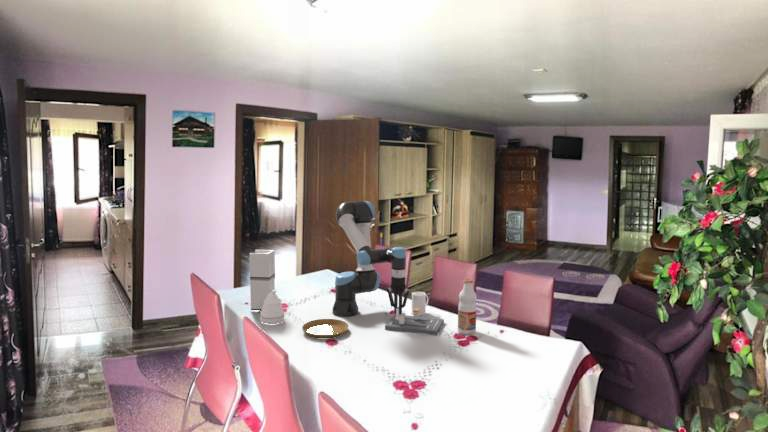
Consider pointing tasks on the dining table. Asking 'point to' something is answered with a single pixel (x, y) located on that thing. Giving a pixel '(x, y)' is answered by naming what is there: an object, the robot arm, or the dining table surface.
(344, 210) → the robot arm
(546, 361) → the dining table surface
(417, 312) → the fader
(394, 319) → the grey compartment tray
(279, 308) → the honey pot
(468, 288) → the fruit juice
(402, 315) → the fader
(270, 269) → the tall grey box
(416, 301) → the mug
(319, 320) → the plant saucer
